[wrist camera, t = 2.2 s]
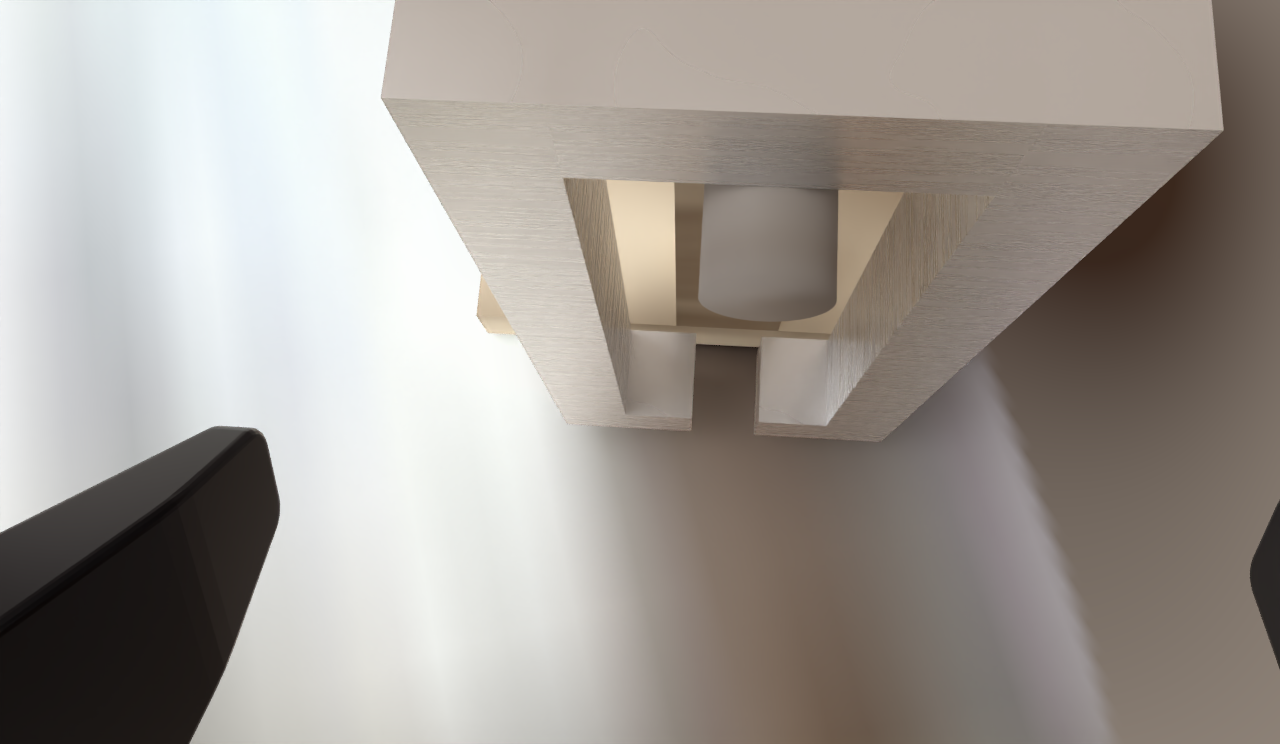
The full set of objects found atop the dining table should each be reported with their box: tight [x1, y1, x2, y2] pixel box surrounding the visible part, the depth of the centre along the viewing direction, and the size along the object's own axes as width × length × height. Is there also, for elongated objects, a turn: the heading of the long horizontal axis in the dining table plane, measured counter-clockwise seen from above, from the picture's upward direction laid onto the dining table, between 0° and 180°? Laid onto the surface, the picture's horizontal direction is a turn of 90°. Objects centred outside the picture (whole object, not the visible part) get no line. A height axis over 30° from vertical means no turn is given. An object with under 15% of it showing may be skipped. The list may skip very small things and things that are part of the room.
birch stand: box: [477, 180, 904, 347], centre depth 15 cm, size 11×10×13 cm
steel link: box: [381, 0, 1223, 442], centre depth 13 cm, size 2×6×12 cm, turn 86°
